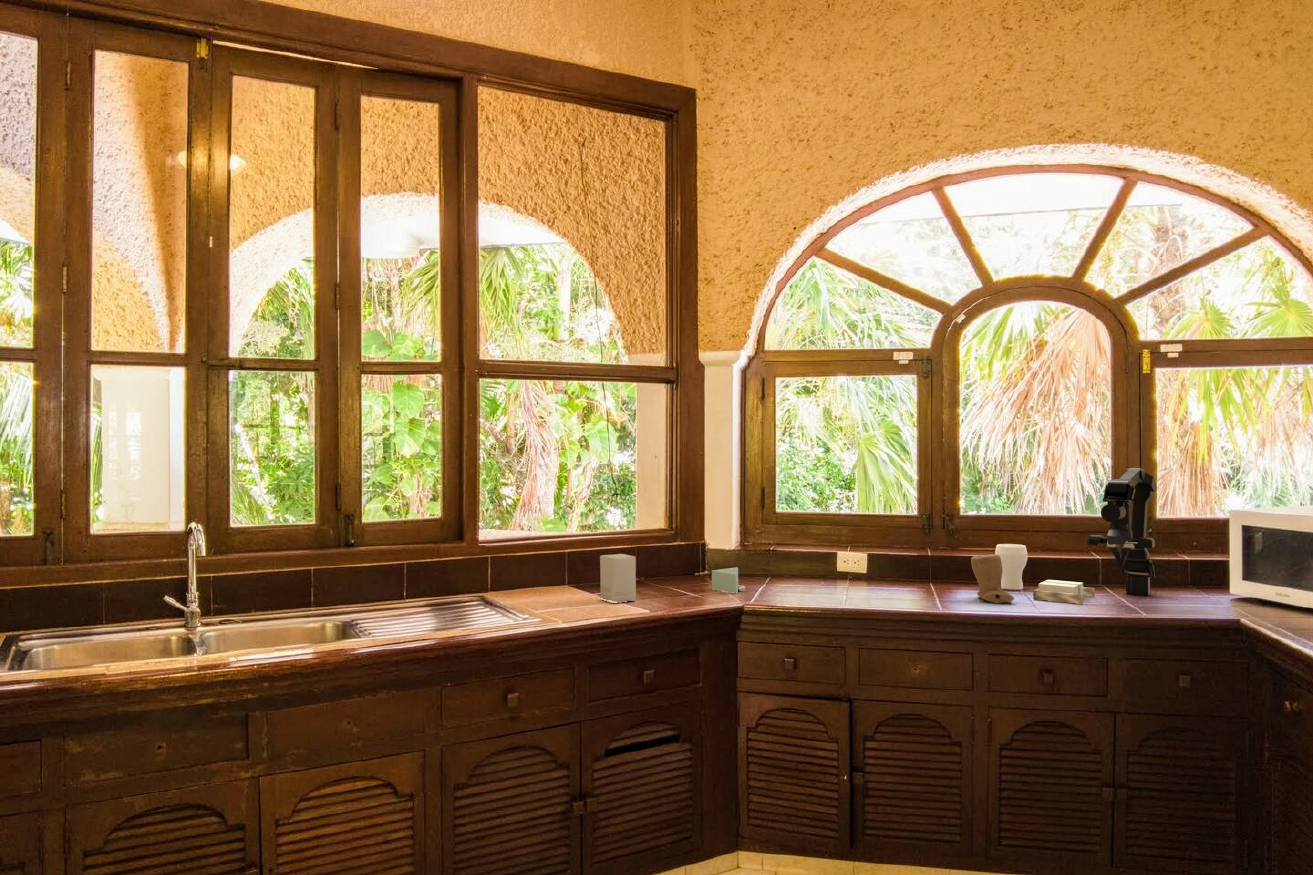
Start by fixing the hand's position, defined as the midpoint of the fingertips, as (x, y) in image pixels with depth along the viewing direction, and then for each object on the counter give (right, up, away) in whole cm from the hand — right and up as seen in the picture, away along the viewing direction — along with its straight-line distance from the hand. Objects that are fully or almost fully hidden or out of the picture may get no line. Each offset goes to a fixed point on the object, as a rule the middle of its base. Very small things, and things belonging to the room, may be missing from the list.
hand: (1120, 568), depth 285 cm
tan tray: (-14, -11, +7) cm, 19 cm away
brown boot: (-39, -11, +6) cm, 41 cm away
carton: (-15, -11, +9) cm, 21 cm away
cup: (-23, -11, +29) cm, 39 cm away
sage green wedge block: (-121, -13, +28) cm, 124 cm away
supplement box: (-161, -12, +8) cm, 162 cm away
